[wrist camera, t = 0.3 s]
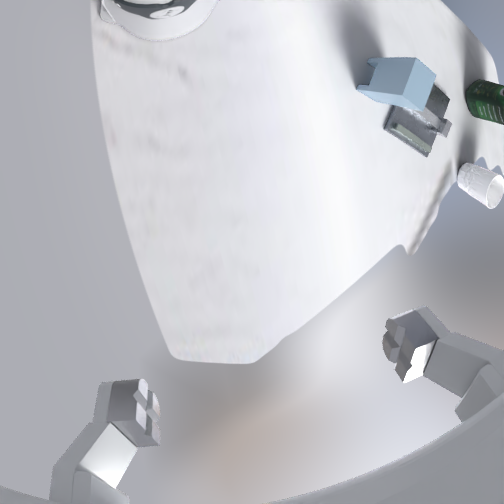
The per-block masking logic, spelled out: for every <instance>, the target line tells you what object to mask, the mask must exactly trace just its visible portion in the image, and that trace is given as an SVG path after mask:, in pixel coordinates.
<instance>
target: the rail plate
mask: <svg viewBox="0 0 504 504" xmlns="http://www.w3.org/2000/svg"><path fill="white" fill-rule="evenodd" d="M449 101H450V99H449V98H448V97H447V96H446V95H445V94H444V93H443V92H442V91H441V90H440V89H439V88H437V87H436V86H435V85H434V84H433V86H432V89H431V92H430V95H429V97H428V100H427V103H426V105H425V108H424V110H423V112H422V111H418V110H414V109H409V108H405V107H400V106H395V105H394V106H393V109H392V111H391V114H390V116H389V118H388V121H387V123H386V126H385V128H384V130H385V131H387V132H389V133H390V134H392V135H393V136H395V137H397V138H398V139H400V140H401V141H403V142H404V143H406V144H407V145H409V146H410V147H412V148H413V149H415V150H416V151H417V152H419V153H420V154H422V155H423V156H425V157H427V156H428V154H429V153H430V152H431V149H432V145H433V142H434V140H435V137H436V135H437V134H438V135H441V136H444V137H447V135H448V132H449V130H450V127H451V125H452V123H451V122H450V121H448V120H447V119H444V118H443V117H444V114H445V112H446V109H447V106H448V103H449Z"/></svg>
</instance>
